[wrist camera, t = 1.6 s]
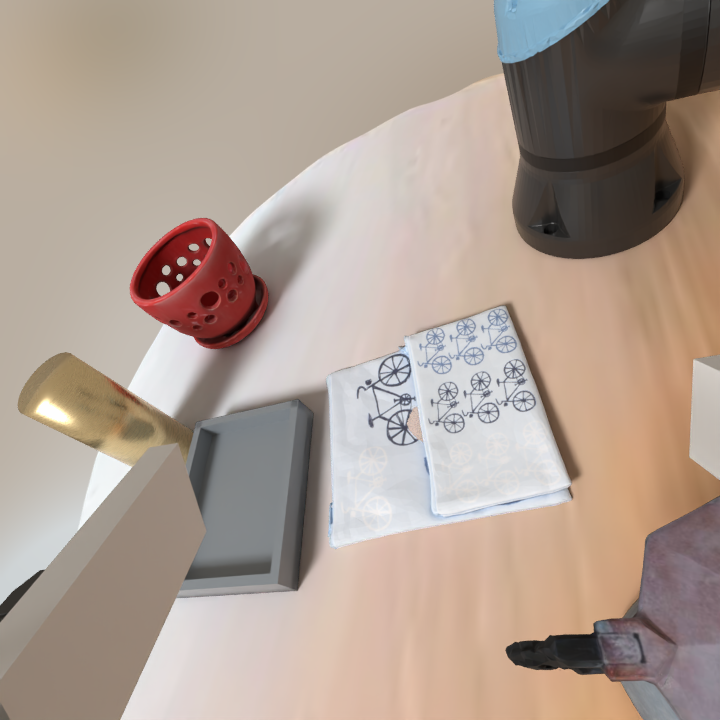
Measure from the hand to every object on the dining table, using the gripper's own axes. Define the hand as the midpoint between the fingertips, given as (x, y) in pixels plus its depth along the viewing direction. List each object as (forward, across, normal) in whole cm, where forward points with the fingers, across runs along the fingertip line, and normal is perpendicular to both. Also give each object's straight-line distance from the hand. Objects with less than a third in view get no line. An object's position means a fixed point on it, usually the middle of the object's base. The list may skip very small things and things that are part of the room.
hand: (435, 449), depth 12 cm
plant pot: (+51, -19, -5) cm, 55 cm away
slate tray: (+29, -16, -19) cm, 38 cm away
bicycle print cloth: (+29, +2, -14) cm, 32 cm away
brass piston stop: (+38, -26, -17) cm, 49 cm away
